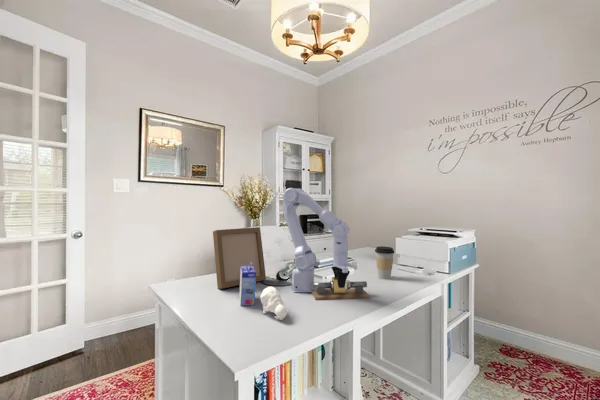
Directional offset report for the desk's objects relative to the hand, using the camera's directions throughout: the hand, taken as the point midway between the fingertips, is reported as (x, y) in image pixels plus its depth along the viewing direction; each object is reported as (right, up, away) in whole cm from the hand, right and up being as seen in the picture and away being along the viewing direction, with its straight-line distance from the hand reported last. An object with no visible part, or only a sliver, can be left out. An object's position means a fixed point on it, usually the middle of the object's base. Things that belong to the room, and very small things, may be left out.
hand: (340, 285), depth 112 cm
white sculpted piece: (-25, -4, -20) cm, 32 cm away
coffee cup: (+26, -4, +26) cm, 37 cm away
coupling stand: (0, -4, 0) cm, 4 cm away
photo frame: (-45, -3, +15) cm, 48 cm away
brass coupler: (-1, -2, 0) cm, 2 cm away
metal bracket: (-23, -4, +24) cm, 33 cm away
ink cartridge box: (-36, -4, -8) cm, 37 cm away
